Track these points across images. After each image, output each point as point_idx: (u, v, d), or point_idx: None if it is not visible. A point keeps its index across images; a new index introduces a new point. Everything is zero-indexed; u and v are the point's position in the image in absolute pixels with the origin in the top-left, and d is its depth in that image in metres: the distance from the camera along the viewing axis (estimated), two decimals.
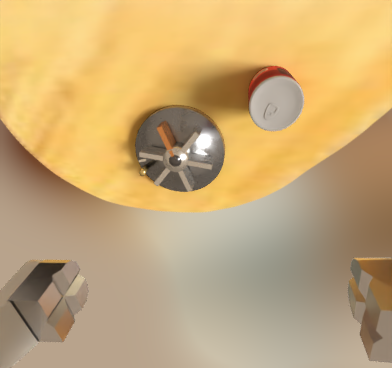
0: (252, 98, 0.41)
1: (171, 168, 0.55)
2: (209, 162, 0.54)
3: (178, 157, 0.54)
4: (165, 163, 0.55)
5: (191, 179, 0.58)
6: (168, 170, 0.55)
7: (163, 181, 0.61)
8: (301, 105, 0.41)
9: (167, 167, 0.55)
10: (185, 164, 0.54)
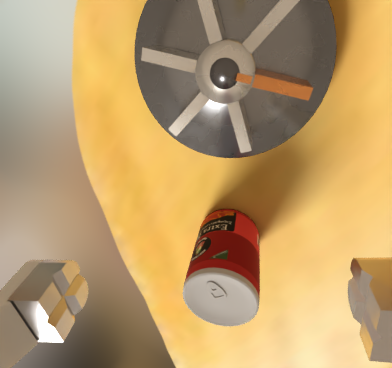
0: (248, 289, 0.27)
1: (213, 51, 0.22)
2: None
3: (227, 86, 0.23)
4: (232, 46, 0.22)
5: None
6: (213, 40, 0.22)
7: None
8: (201, 317, 0.30)
9: (221, 43, 0.22)
10: (204, 89, 0.24)
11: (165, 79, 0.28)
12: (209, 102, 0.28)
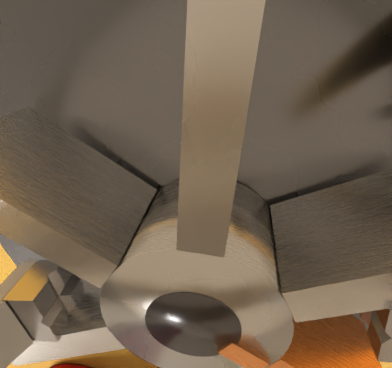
0: None
1: (180, 270, 0.06)
2: None
3: (187, 349, 0.08)
4: (249, 285, 0.06)
5: None
6: (192, 245, 0.06)
7: None
8: None
9: (215, 264, 0.06)
10: (119, 327, 0.08)
11: None
12: None
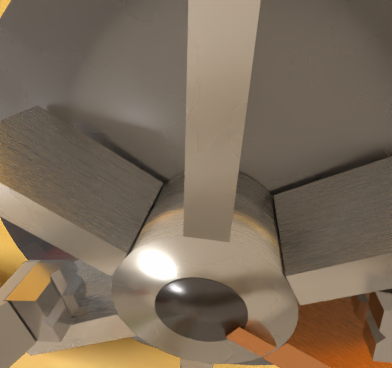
0: None
1: (188, 256, 0.07)
2: None
3: (195, 334, 0.08)
4: (253, 269, 0.06)
5: None
6: (198, 231, 0.06)
7: None
8: None
9: (220, 249, 0.06)
10: (130, 314, 0.08)
11: (94, 80, 0.08)
12: None
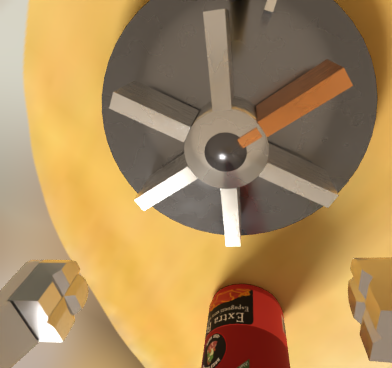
0: None
1: (193, 144, 0.16)
2: (240, 233, 0.20)
3: (240, 161, 0.16)
4: (205, 122, 0.16)
5: None
6: (183, 136, 0.16)
7: (163, 21, 0.17)
8: None
9: (193, 131, 0.16)
10: (221, 183, 0.17)
11: (147, 150, 0.21)
12: None
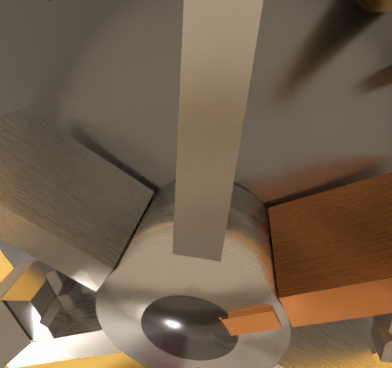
0: None
1: (118, 300, 0.07)
2: None
3: (219, 350, 0.07)
4: (152, 270, 0.06)
5: None
6: (94, 280, 0.07)
7: None
8: None
9: (118, 278, 0.07)
10: None
11: None
12: None
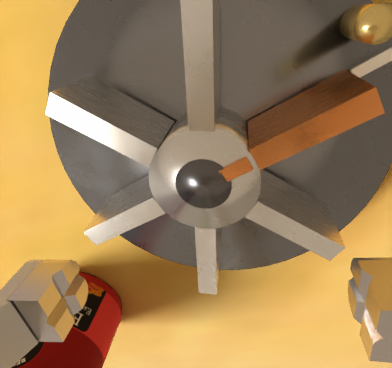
0: None
1: (161, 171, 0.12)
2: (217, 277, 0.16)
3: (222, 197, 0.12)
4: (178, 144, 0.11)
5: None
6: (147, 159, 0.12)
7: None
8: None
9: (160, 154, 0.12)
10: (196, 221, 0.13)
11: None
12: None
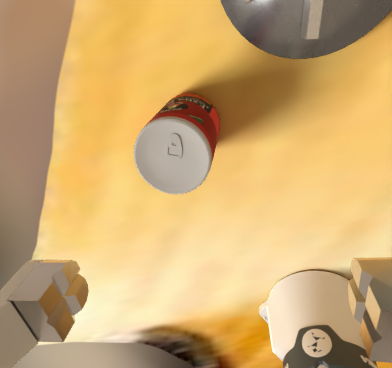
0: (208, 158, 0.27)
1: None
2: None
3: None
4: None
5: None
6: None
7: None
8: (139, 168, 0.28)
9: None
10: None
11: None
12: None
